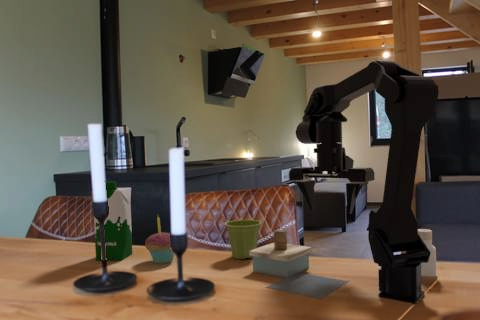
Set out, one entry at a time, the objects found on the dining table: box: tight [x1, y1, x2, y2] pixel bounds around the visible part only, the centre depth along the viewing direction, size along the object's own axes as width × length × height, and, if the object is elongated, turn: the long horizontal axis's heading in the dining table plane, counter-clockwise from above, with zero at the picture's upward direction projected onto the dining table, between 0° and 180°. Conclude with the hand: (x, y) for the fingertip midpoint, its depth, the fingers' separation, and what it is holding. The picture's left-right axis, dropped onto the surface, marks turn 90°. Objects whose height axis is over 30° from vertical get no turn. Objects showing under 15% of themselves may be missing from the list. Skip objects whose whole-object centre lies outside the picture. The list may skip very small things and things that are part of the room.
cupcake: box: [144, 215, 175, 264], centre depth 110 cm, size 9×8×12 cm
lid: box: [249, 229, 313, 262], centre depth 97 cm, size 10×10×5 cm
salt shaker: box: [418, 228, 437, 278], centre depth 91 cm, size 4×4×10 cm
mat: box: [265, 272, 350, 300], centre depth 87 cm, size 12×12×1 cm
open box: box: [252, 253, 310, 278], centre depth 98 cm, size 9×9×4 cm
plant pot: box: [224, 219, 262, 260], centre depth 111 cm, size 9×9×9 cm
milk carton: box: [91, 180, 133, 261], centre depth 115 cm, size 9×9×20 cm
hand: (330, 212), depth 99 cm, fingers open, 9 cm apart
